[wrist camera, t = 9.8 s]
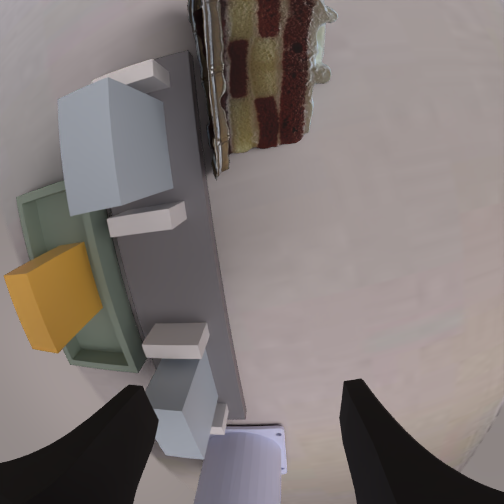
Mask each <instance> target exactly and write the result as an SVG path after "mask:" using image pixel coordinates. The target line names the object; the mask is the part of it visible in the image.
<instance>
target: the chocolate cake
mask: <svg viewBox="0 0 504 504" xmlns="http://www.w3.org/2000/svg"><path fill="white" fill-rule="evenodd" d="M187 8H188V15H189V16H188V19H189V22H190V23H191V25H192V29H193V35H194V38H195V43H196V49H197V56H198V60H199V62H200V68H201V70H200V72H201V84H202V86H203V88H204V90H205V97H206V98H207V103H206V106H207V113H208V116H209V123H208V124H207V133H208V139H209V146H210V148H211V149H212V150H213V151H214V156H213V159H212V163H211V165H212V169H213V174H214V176H215V179H216V181H217V177H218V176H219V174H220V173H221V172H223V171H225V170H227V169H229V163H230V160H229V154H231V153H244V152H247V151H248V150H250V149H251V148H254V147H257V148H261V149H265V148H270V147H277V146H279V145H282V144H291V143H296V142H298V141H300V140H301V139H302V137H303V136H304V135H305V134H306V133H308V132H309V131H310V124H311V117H312V112H313V106H314V105H313V99H312V92H313V87H314V85H315V84H317V83H320V84H324V83H327V82H329V80H330V77H331V69H330V68H329V67H328V66H327V65H325V64H323V63H322V59H323V55H324V41H325V32H326V23H333V22H335V21H336V20H337V18H338V15H337V13H336V12H335V11H334V10H333V9H331V8H330V7H328V6H325V4H324V0H188V5H187Z"/></svg>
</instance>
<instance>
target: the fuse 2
mask: <svg viewBox="0 0 504 504" xmlns="http://www.w3.org/2000/svg"><path fill="white" fill-rule="evenodd" d="M145 393H146V395H147V397H148V399H149V401H150V403H151V405H152V407H153V409H154V411H155V413H156V415H157V417H158V419H159V423H158V428H157V432H156V437H155V439H156V440H157V442H158V444H159V445H160V447H161V449H162V450H163V452H164V453H165V455H168V456H175V457H183V458H192V459H203V460H204V458H205V454H206V449H207V445H208V440H209V436H210V431H211V427H212V422H213V418H214V413H215V409H216V405H217V400H218V394H217V390H216V387H215V383H214V379H213V376H212V372H211V368H210V364H209V360H208V356H207V353H206V349H205V351H204V354H203V357H202V359H166V358H162V359H161V361H160V363H159V365H158V367H157V369H156V371H155V373H154V375H153V377H152V379H151V381H150V383H149V385H148V387H147V389H146V391H145Z"/></svg>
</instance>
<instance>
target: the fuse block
mask: <svg viewBox="0 0 504 504" xmlns="http://www.w3.org/2000/svg"><path fill="white" fill-rule="evenodd" d="M107 77H109V78H111V79H114V80H116V81H118V82H121V83H123V84H125V85H128V86H130V87H132V88H134V89H136V90H139V91H141V92H143V93H145V94H147V95H150V96H152V97H154V98H156V99H158V100H160V101H162V102H163V106H164V116H165V126H166V135H167V143H168V151H169V159H170V167H171V174H172V181H173V189H169V190H166V191H163V192H160V193H157V194H154V195H151V196H148V197H145V198H142V199H139V200H136V201H133V202H130V203H128V204H125V205H122V206H117V207H112V208H111V212H112V217H110V218H108V219H107V223H108V228H109V232H110V237H117V241H118V245H119V250H120V254H121V258H122V262H123V266H124V270H125V274H126V278H127V281H128V285H129V289H130V292H131V296H132V299H133V303H134V306H135V309H136V313H137V316H138V319H139V322H140V325H141V328H142V331H143V334H144V337H145V340H144V342H143V343H142V347H143V350H144V353H145V355H146V358H152V360H153V362H154V365H155V368H156V369H157V367H158V365H159V363H160V361H161V359H162V358H166V359H202V357H203V354H204V351H205V349H206V353H207V356H208V360H209V364H210V368H211V372H212V376H213V379H214V383H215V387H216V390H217V394H218V400H217V405H216V409H215V413H214V418H213V422H212V427H211V431H210V434H214V435H225V429H226V424H227V419H246V406H245V401H244V396H243V392H242V387H241V382H240V377H239V372H238V366H237V361H236V356H235V351H234V346H233V340H232V335H231V329H230V324H229V318H228V313H227V307H226V301H225V296H224V290H223V284H222V278H221V272H220V266H219V259H218V253H217V247H216V240H215V234H214V227H213V221H212V214H211V207H210V200H209V193H208V186H207V178H206V171H205V163H204V155H203V147H202V139H201V131H200V122H199V114H198V105H197V95H196V86H195V76H194V66H193V56H192V55H191V53H190V52H189V51H184V52H180V53H176V54H172V55H168V56H164V57H161V58H157V59H154V60H153V59H150V60H146V61H143V62H140V63H137V64H134V65H131V66H128V67H125V68H122V69H120V70H117V71H114V72H112V73H109V74H106V75H104V76H101V77H99V78H96V79H94V80H92V83H95V82H97V81H99V80H102V79H104V78H107Z"/></svg>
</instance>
